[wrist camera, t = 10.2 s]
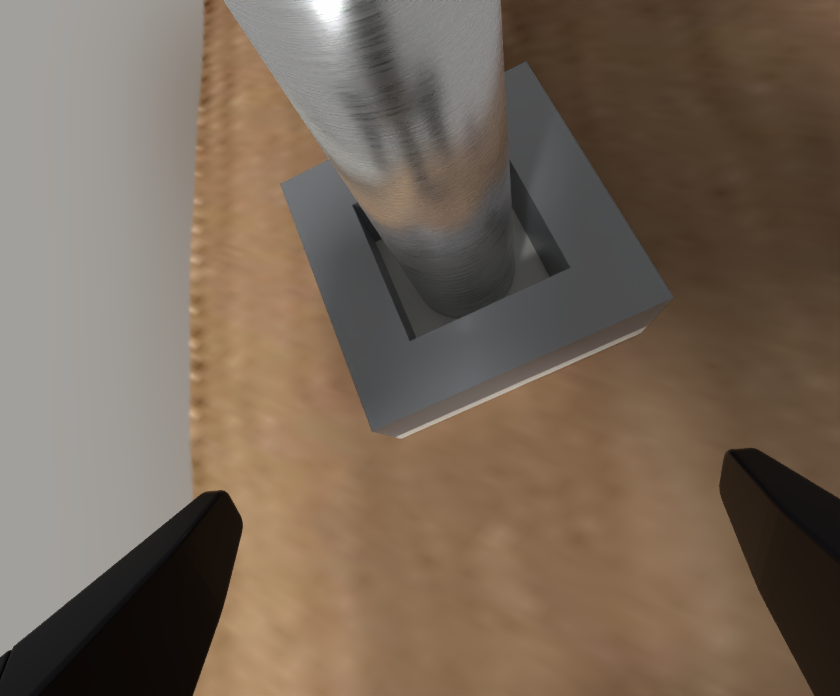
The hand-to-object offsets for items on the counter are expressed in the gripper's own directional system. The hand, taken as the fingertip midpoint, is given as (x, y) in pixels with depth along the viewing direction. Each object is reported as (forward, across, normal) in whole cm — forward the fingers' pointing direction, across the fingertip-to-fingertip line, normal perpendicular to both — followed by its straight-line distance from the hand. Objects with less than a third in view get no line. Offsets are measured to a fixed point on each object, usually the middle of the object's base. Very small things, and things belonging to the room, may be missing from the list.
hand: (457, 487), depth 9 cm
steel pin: (+12, 0, 0) cm, 12 cm away
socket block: (+12, 0, +1) cm, 13 cm away
